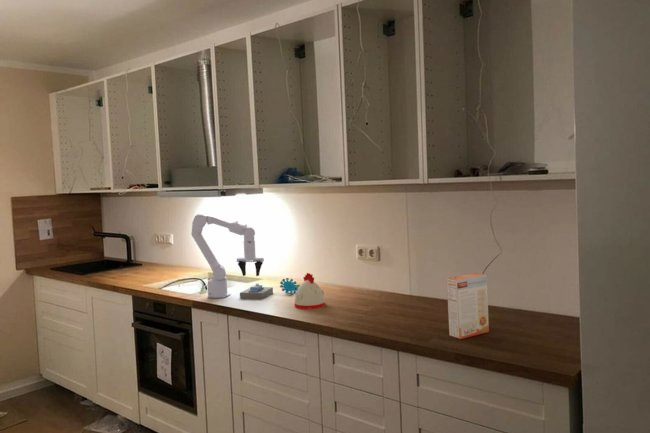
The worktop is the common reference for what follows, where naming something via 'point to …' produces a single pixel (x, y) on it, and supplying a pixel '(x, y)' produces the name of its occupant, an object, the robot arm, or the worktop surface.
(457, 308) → the cracker box
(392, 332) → the worktop surface
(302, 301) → the white and red dome
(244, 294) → the chassis
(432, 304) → the worktop surface
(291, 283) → the gear
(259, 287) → the servo
